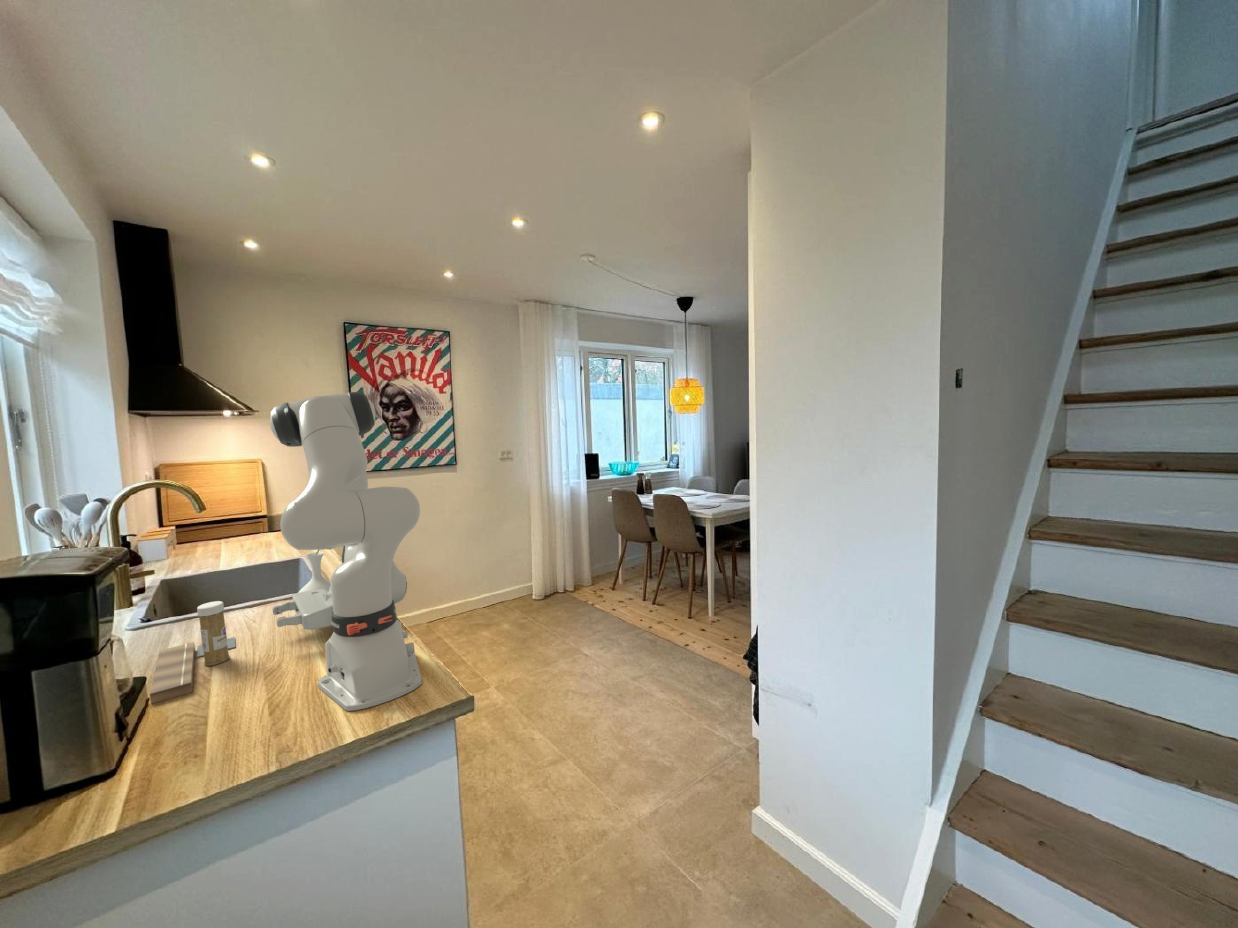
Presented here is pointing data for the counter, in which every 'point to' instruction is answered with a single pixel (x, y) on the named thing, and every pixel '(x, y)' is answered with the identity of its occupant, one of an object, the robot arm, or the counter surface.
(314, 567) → the flower in vase
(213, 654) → the sprinkles bottle
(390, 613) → the robot arm
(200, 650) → the end pad
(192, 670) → the board
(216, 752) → the counter surface
